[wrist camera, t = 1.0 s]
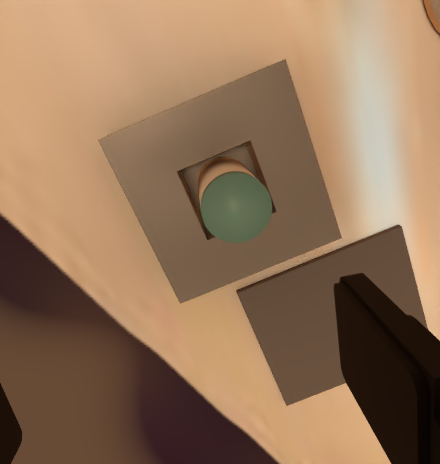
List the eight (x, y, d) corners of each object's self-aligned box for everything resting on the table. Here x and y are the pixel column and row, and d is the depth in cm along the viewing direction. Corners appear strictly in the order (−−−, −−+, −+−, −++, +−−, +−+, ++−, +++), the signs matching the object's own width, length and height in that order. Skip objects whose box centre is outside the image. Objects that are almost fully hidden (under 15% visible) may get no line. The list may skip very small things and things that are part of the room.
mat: (398, 224, 39) (401, 226, 38) (429, 345, 44) (432, 348, 43) (236, 290, 39) (237, 293, 39) (285, 402, 44) (286, 405, 44)
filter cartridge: (238, 148, 35) (257, 162, 26) (257, 197, 37) (281, 227, 27) (189, 169, 35) (189, 190, 26) (209, 216, 37) (217, 253, 27)
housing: (273, 65, 33) (285, 59, 29) (326, 225, 38) (341, 237, 34) (108, 136, 34) (98, 140, 30) (180, 284, 39) (180, 303, 35)
